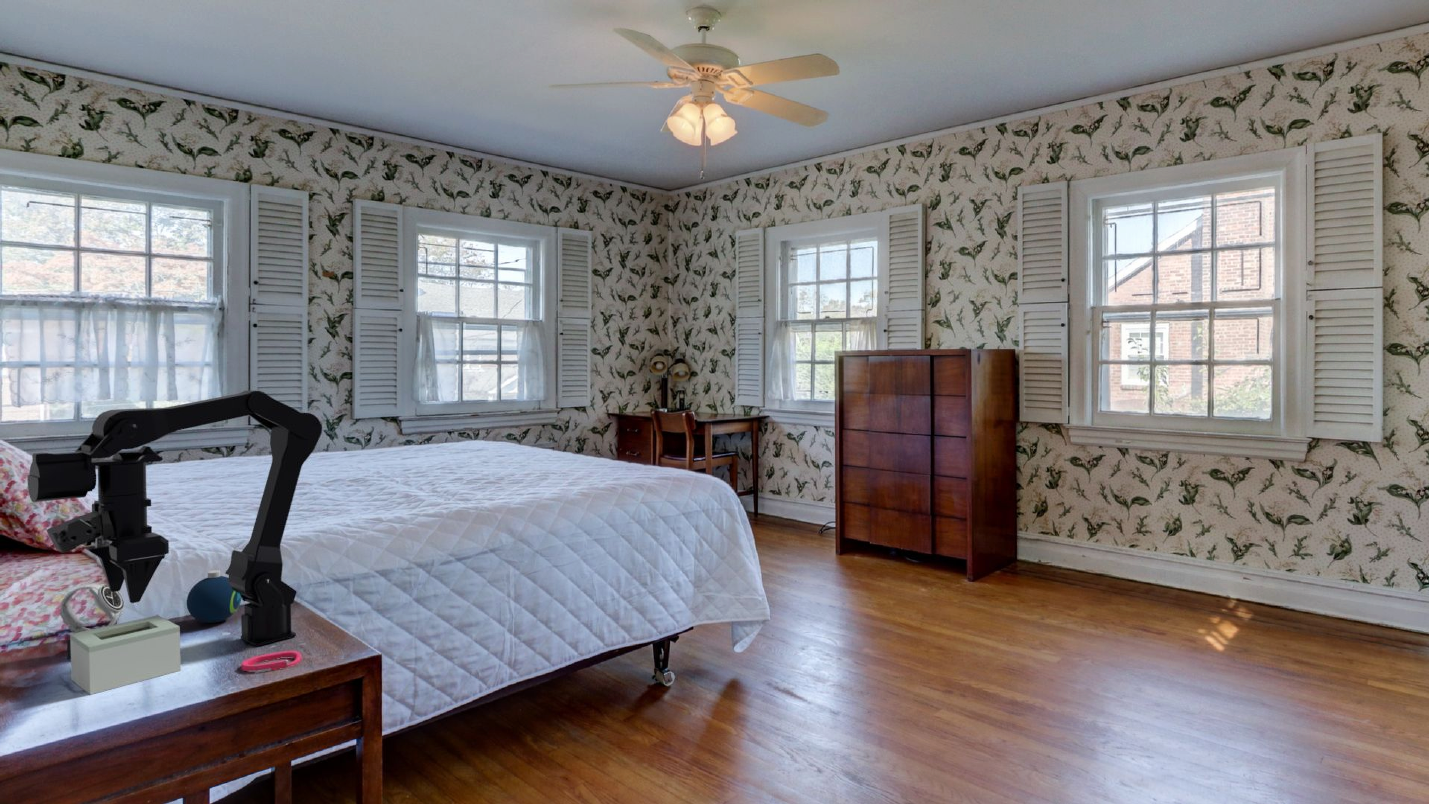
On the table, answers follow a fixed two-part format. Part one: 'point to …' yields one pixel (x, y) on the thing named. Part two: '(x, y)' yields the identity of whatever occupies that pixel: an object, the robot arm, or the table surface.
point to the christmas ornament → (212, 599)
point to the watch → (103, 600)
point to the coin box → (124, 653)
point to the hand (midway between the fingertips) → (124, 596)
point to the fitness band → (273, 665)
